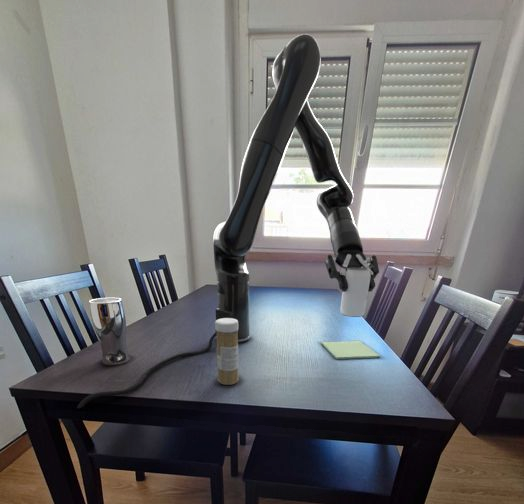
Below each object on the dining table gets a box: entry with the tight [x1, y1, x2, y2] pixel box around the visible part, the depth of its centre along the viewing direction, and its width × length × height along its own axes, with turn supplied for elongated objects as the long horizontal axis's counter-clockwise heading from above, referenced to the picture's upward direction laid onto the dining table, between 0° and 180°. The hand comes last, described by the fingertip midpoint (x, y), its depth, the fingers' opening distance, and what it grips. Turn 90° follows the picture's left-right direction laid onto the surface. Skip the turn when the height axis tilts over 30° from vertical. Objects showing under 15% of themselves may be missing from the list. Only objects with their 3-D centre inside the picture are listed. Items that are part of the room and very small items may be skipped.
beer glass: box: [88, 297, 131, 366], centre depth 67 cm, size 7×7×15 cm
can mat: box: [321, 340, 381, 360], centre depth 79 cm, size 12×12×1 cm
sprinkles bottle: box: [214, 318, 240, 386], centre depth 58 cm, size 5×5×13 cm
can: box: [339, 267, 371, 318], centre depth 74 cm, size 6×6×12 cm
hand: (358, 289), depth 72 cm, fingers closed on can, 6 cm apart
